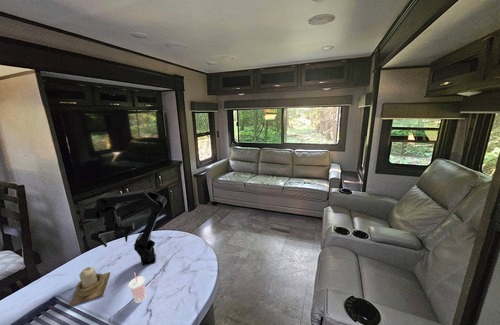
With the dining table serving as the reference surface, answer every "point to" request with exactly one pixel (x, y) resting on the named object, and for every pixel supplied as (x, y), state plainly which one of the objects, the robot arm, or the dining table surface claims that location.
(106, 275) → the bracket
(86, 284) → the candle
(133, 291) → the beverage cup
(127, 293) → the dining table surface
